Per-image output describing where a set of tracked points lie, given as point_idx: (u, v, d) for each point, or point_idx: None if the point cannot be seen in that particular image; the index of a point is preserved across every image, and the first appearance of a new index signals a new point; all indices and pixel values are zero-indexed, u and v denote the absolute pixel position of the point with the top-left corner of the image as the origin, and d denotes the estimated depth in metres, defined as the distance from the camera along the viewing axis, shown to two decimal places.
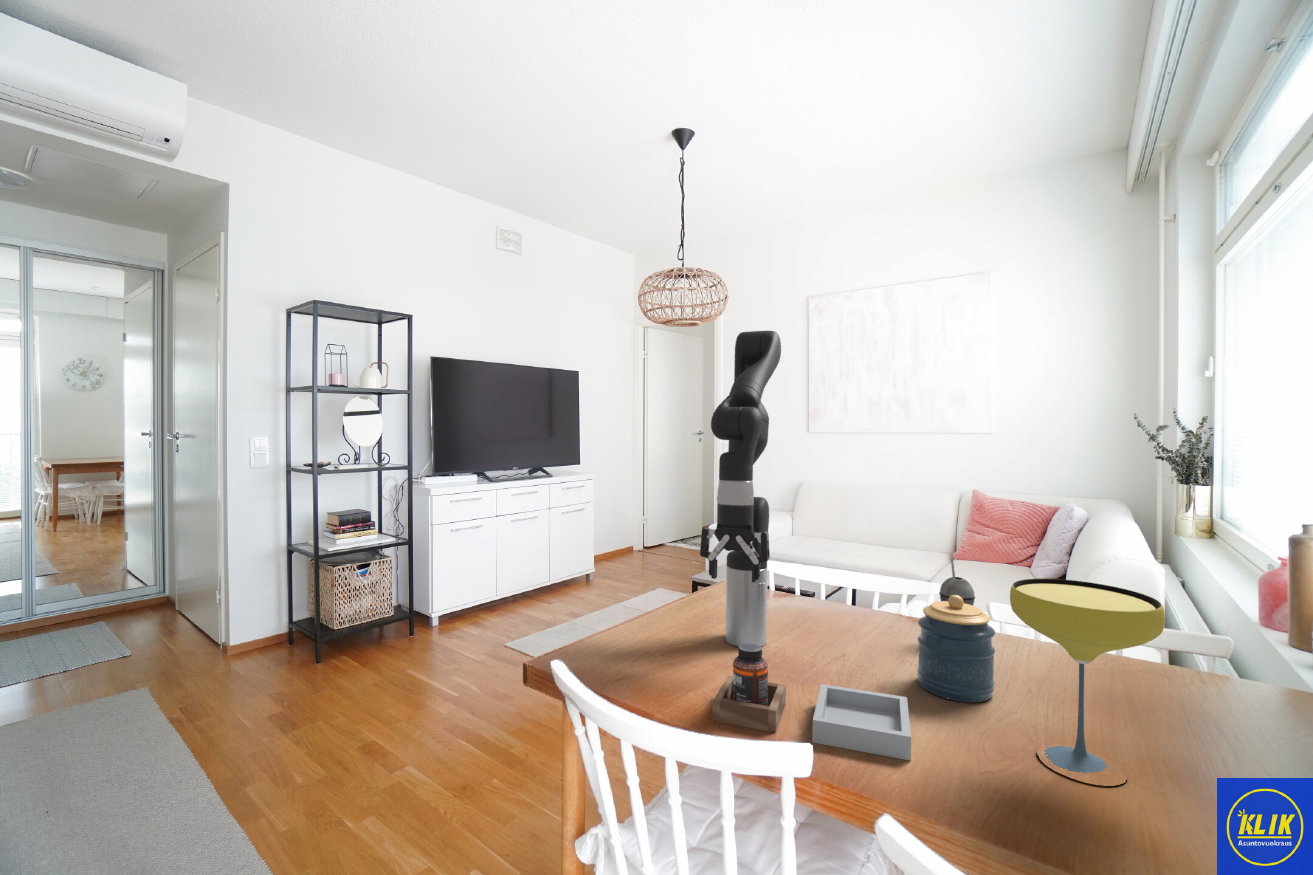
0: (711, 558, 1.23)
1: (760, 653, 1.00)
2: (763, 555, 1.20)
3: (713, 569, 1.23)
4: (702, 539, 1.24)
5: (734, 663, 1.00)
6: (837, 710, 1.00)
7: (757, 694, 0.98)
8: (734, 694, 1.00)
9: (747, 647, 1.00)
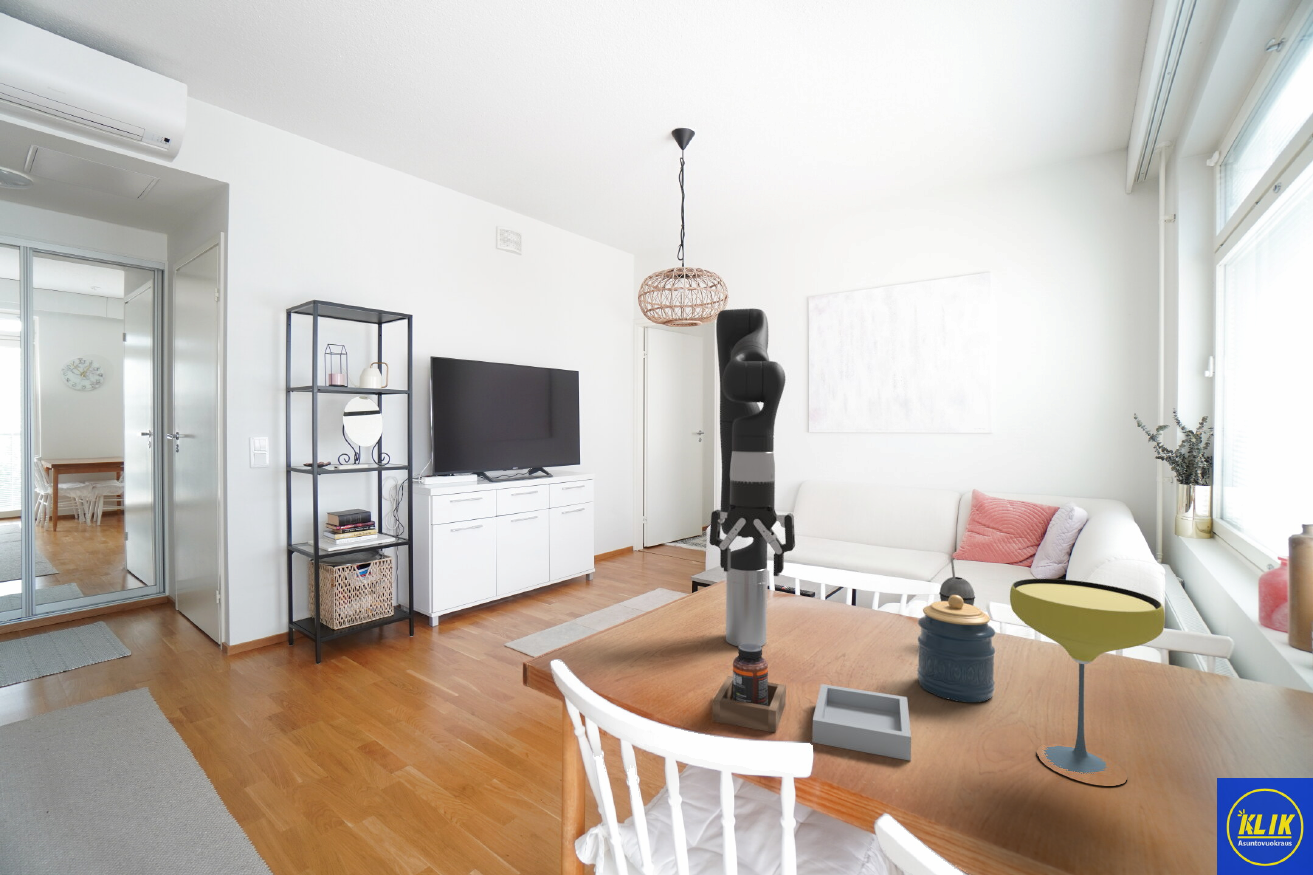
0: (723, 547, 1.01)
1: (760, 653, 1.00)
2: (787, 543, 0.97)
3: (726, 560, 1.01)
4: (712, 524, 1.02)
5: (734, 663, 1.00)
6: (837, 710, 1.00)
7: (757, 694, 0.98)
8: (734, 694, 1.00)
9: (747, 647, 1.00)
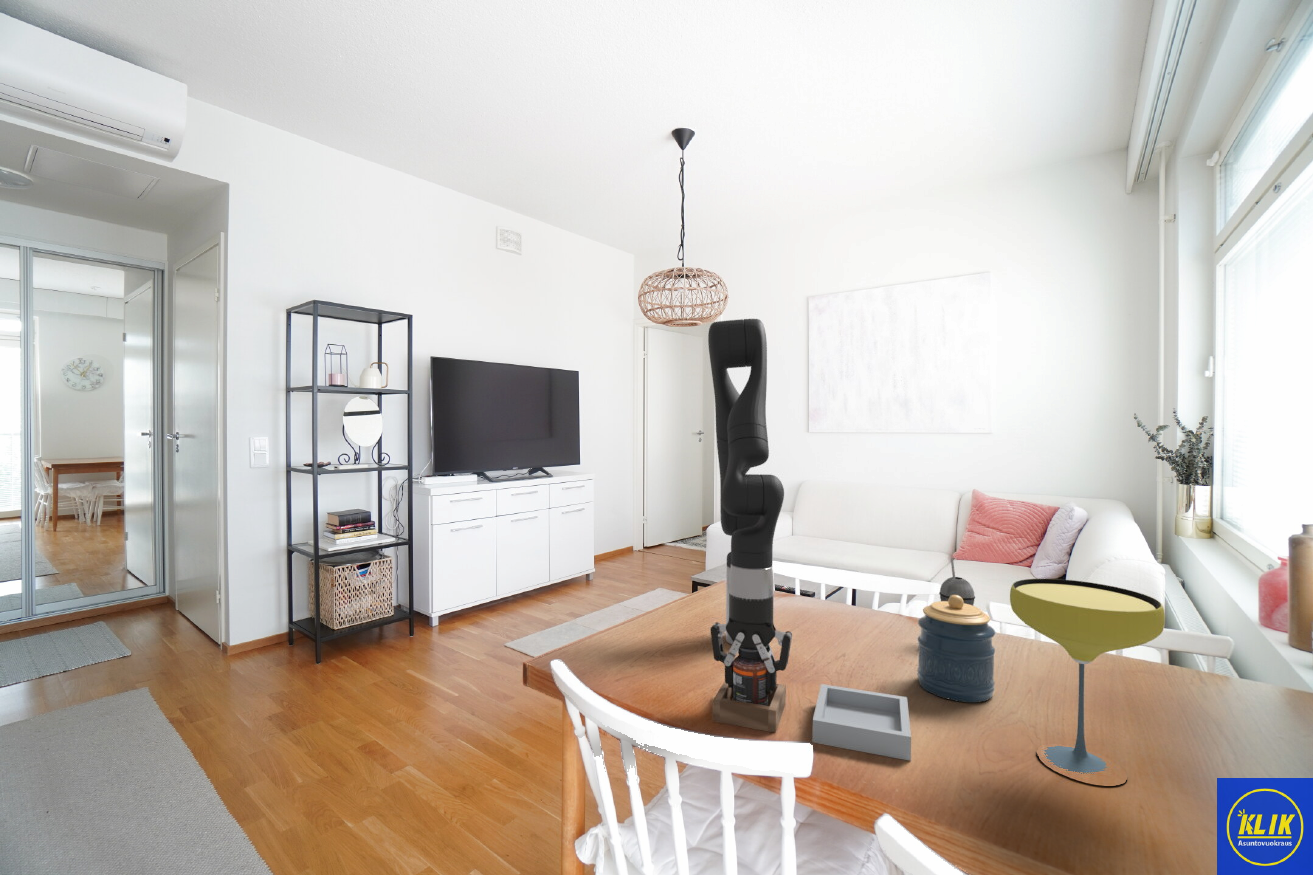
0: (728, 663, 1.01)
1: None
2: (780, 662, 0.98)
3: (730, 677, 1.01)
4: (713, 639, 1.02)
5: (734, 663, 1.00)
6: (837, 710, 1.00)
7: (757, 694, 0.98)
8: (734, 694, 1.00)
9: None
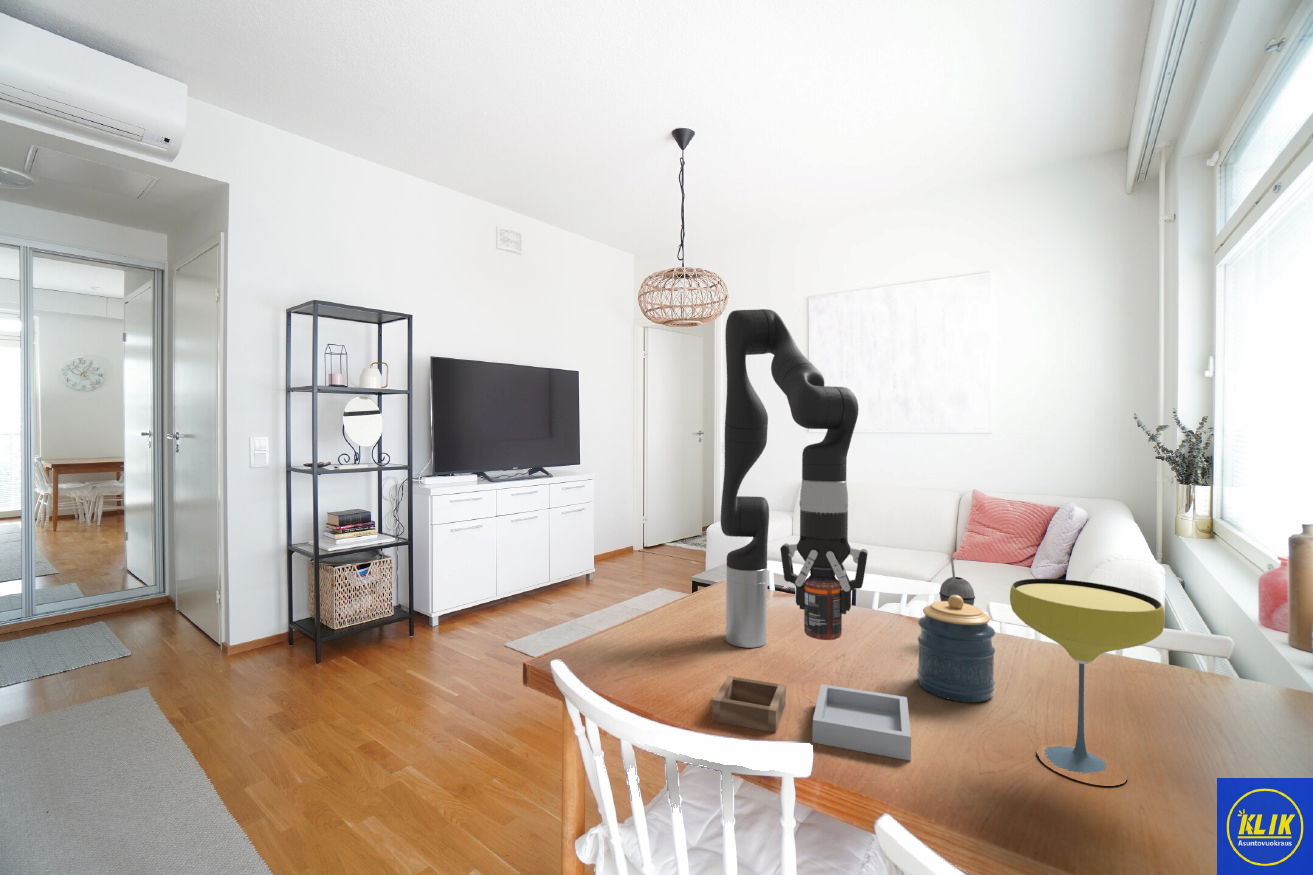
0: (799, 584, 0.97)
1: None
2: (856, 580, 0.93)
3: (802, 597, 0.97)
4: (783, 559, 0.98)
5: (806, 583, 0.96)
6: (837, 710, 1.00)
7: (831, 614, 0.94)
8: (806, 615, 0.96)
9: None
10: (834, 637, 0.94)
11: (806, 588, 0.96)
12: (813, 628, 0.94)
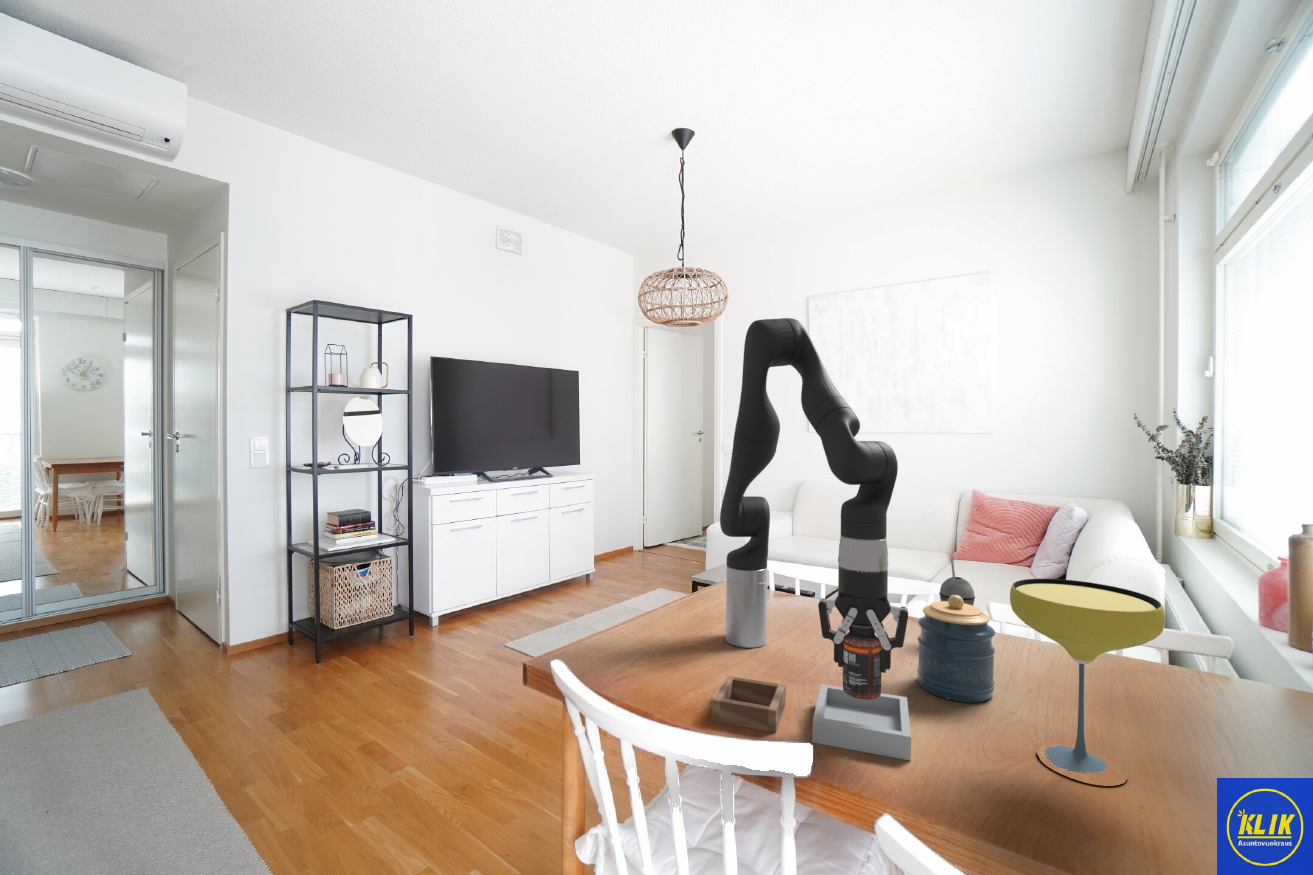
0: (838, 641, 0.95)
1: (874, 630, 0.94)
2: (897, 639, 0.92)
3: (841, 655, 0.95)
4: (821, 616, 0.96)
5: (845, 640, 0.95)
6: (837, 710, 1.00)
7: (872, 673, 0.92)
8: (845, 673, 0.94)
9: None
10: (875, 697, 0.93)
11: (845, 646, 0.94)
12: (853, 687, 0.93)
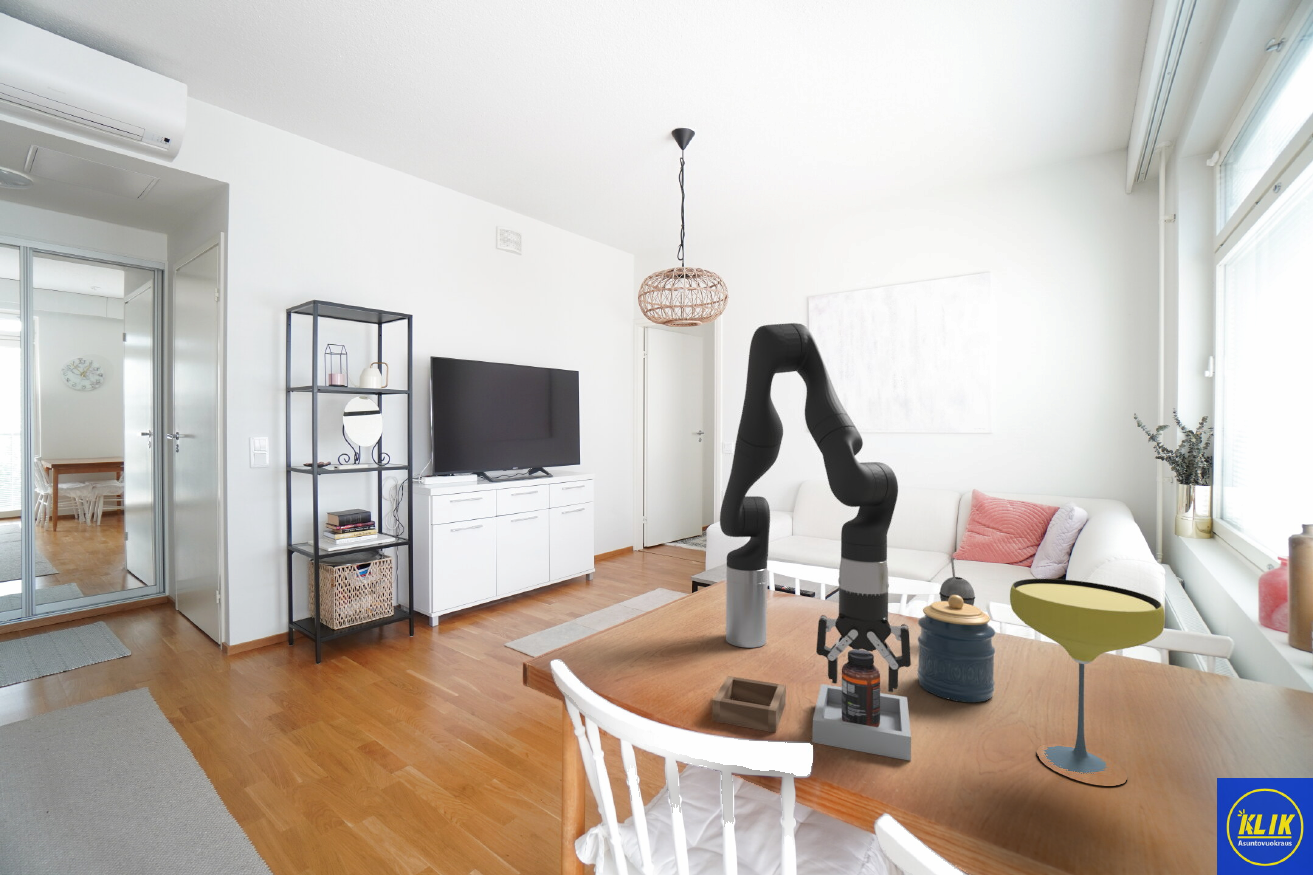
0: (832, 658, 0.96)
1: (872, 660, 0.94)
2: (904, 658, 0.92)
3: (835, 672, 0.96)
4: (819, 633, 0.96)
5: (844, 671, 0.95)
6: (837, 710, 1.00)
7: (871, 704, 0.93)
8: (844, 704, 0.95)
9: (858, 654, 0.95)
10: None
11: (844, 676, 0.95)
12: (852, 718, 0.93)
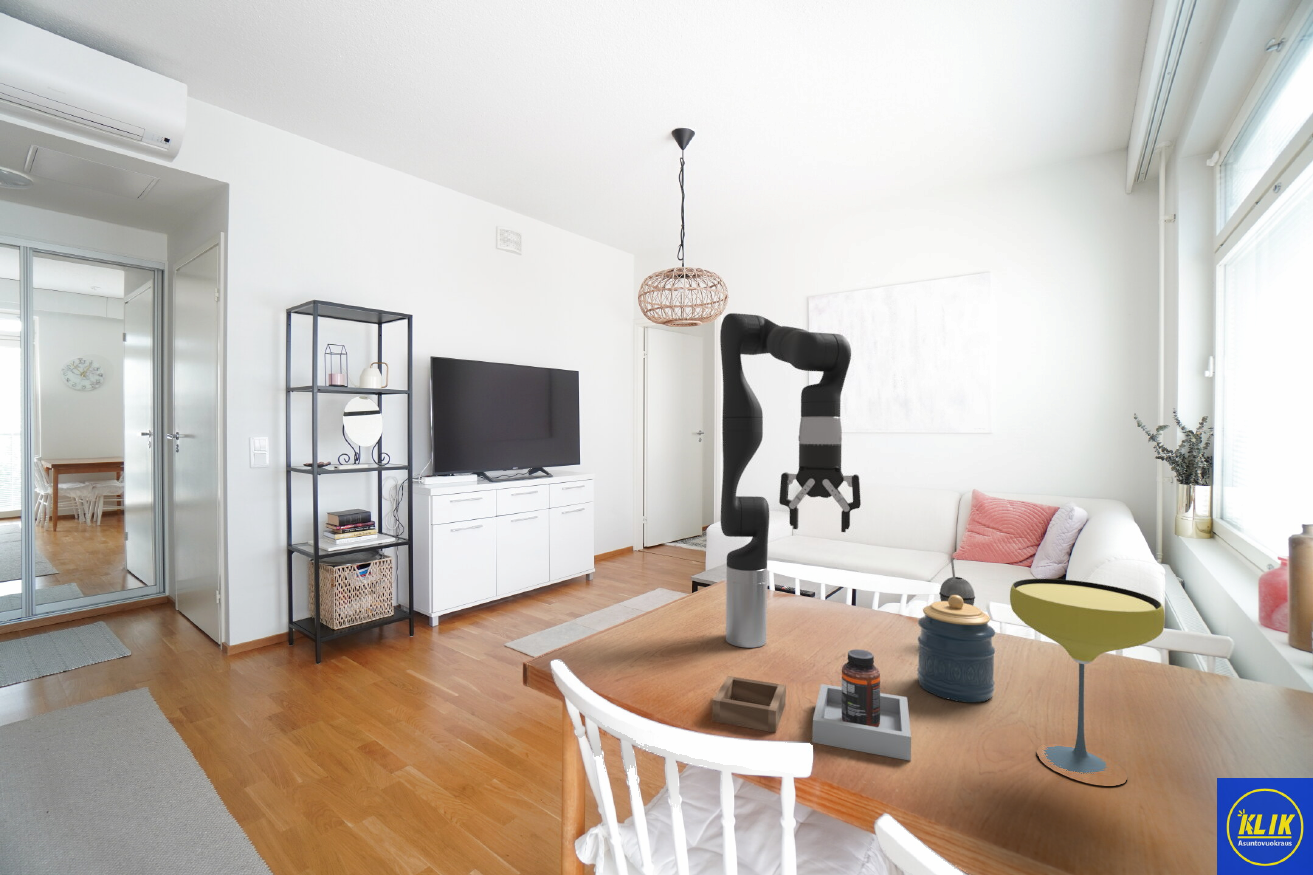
0: (793, 506, 1.09)
1: (872, 660, 0.94)
2: (855, 501, 1.05)
3: (795, 518, 1.09)
4: (782, 485, 1.09)
5: (844, 671, 0.95)
6: (837, 710, 1.00)
7: (871, 704, 0.93)
8: (844, 704, 0.95)
9: (858, 654, 0.95)
10: None
11: (844, 676, 0.95)
12: (852, 718, 0.93)
